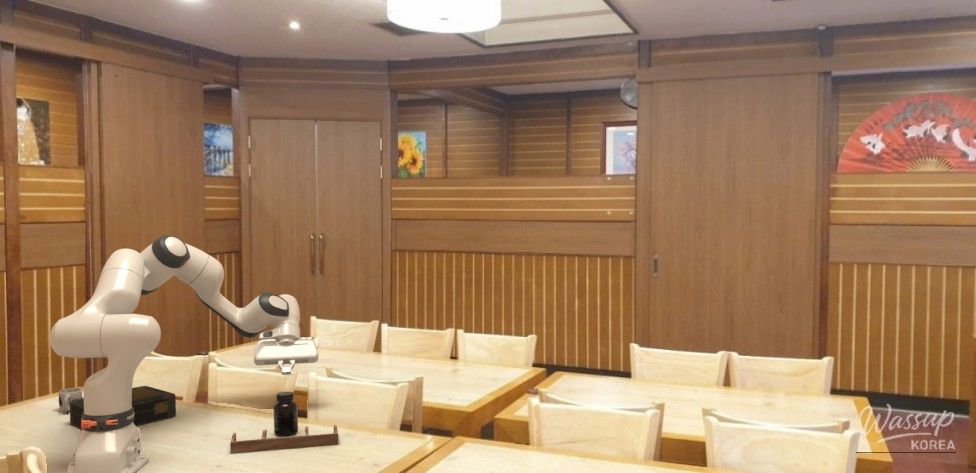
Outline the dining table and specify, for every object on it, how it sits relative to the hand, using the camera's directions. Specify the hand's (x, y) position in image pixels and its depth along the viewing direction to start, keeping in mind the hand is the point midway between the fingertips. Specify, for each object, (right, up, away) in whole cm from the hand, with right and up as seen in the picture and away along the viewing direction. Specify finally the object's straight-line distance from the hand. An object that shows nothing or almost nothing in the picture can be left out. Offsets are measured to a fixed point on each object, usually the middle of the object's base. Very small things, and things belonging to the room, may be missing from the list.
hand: (286, 373), depth 235 cm
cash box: (-50, -14, -4) cm, 52 cm away
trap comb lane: (+6, -14, -24) cm, 28 cm away
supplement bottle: (+5, -14, -19) cm, 24 cm away
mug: (-73, -14, +6) cm, 74 cm away
